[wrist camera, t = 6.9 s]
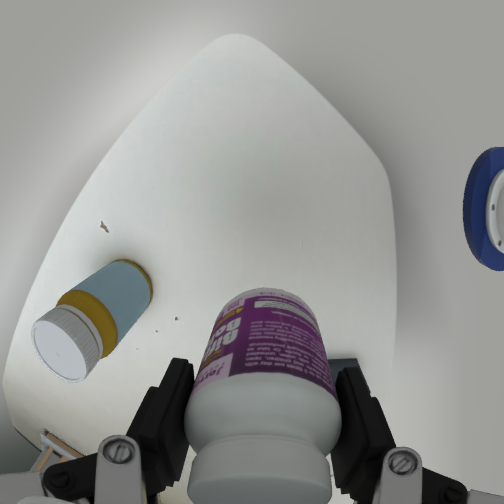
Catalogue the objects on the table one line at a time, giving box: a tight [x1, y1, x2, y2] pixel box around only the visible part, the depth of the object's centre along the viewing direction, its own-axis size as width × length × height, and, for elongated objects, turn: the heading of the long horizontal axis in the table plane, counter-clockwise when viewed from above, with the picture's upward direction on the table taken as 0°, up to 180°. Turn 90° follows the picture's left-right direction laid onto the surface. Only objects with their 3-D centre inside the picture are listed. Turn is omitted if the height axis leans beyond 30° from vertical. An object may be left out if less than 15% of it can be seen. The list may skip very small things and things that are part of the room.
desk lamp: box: [30, 433, 84, 473], centre depth 30 cm, size 20×20×35 cm
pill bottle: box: [184, 288, 342, 504], centre depth 10 cm, size 5×5×10 cm
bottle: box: [31, 260, 152, 383], centre depth 25 cm, size 7×7×15 cm
